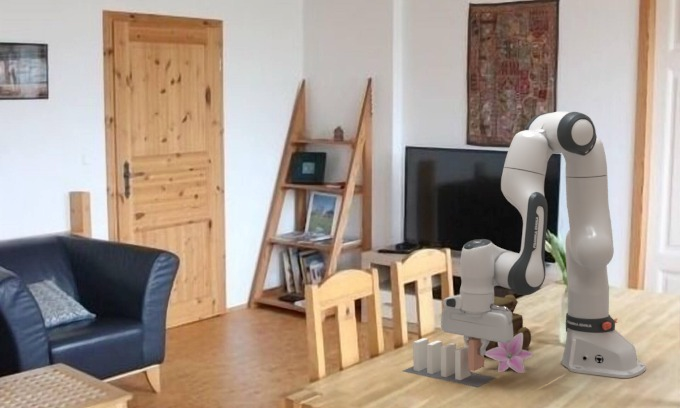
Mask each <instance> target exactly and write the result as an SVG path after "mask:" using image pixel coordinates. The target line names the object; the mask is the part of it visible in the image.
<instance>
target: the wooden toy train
mask: <svg viewBox="0 0 680 408" xmlns="http://www.w3.org/2000/svg"><path fill="white" fill-rule="evenodd" d="M517 304H518V299H516V297H515V295H513V294H507V295H505V296H504V297H501V296H496V295H494V305H498V306H505V307H507V308H508V309H509V310H510V311H511V312H512V324H513V337H514V336H516V335H517V334H519V333H523V345H522V349H523V350H526V351H527V349H529V347H530V344H531V341H532V334H531V331H530V329H529V328H528V327H526V326H524V325H523V324H524V319H523V318H524V317H523V315H522V314H519V313H515V309H516V307H517ZM507 311H508V310H507ZM472 339H473V337H472ZM496 347H499V346H498V342H495V341H490V342H489V344H488V346H487V347H486V351H488V350H490V349H493V348H496Z"/></svg>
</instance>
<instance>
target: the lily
mask: <svg viewBox="0 0 680 408" xmlns="http://www.w3.org/2000/svg"><path fill="white" fill-rule="evenodd" d="M522 345H523V333H519V334H517V335H516V336H514V337H513V339H512V340H511V341H510V342H508V343H500V342H498V346H499V347H496V348H493V349H490V350H488V351H486V353H485V355H484V356H486V357H488V358H490V359H493V360H495V361H498V368H497V372H505V371H507V370H508V369H509V368H510V369H512V370H513V371H514V372H516V373H518V374H519V373H522V374H525V372H526V371H525V366H524V365H525V364H524V361H523V360H526V359H528V358H531V357H533V356H534V353H532V352H531V351H529V350H527V349H526V350H523V349H522Z"/></svg>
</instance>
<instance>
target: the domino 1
mask: <svg viewBox="0 0 680 408" xmlns="http://www.w3.org/2000/svg"><path fill="white" fill-rule="evenodd" d="M412 343H413V344H412V346H413V347H412V349H413V354H412V355H413V356H412V357H413V366H414V370H415V371H420V370H423V369H425V368H427V344H429V343H430V342H429V338H426V337H422V338H420V339H418V340H415V341H413V342H412Z"/></svg>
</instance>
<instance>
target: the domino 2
mask: <svg viewBox="0 0 680 408" xmlns="http://www.w3.org/2000/svg"><path fill="white" fill-rule="evenodd" d="M442 346H443V341H441V340H438V339H437V340H435V341H432V342H429V344H427V373H429V374H434V373H436V372H438V371H441V347H442Z"/></svg>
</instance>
